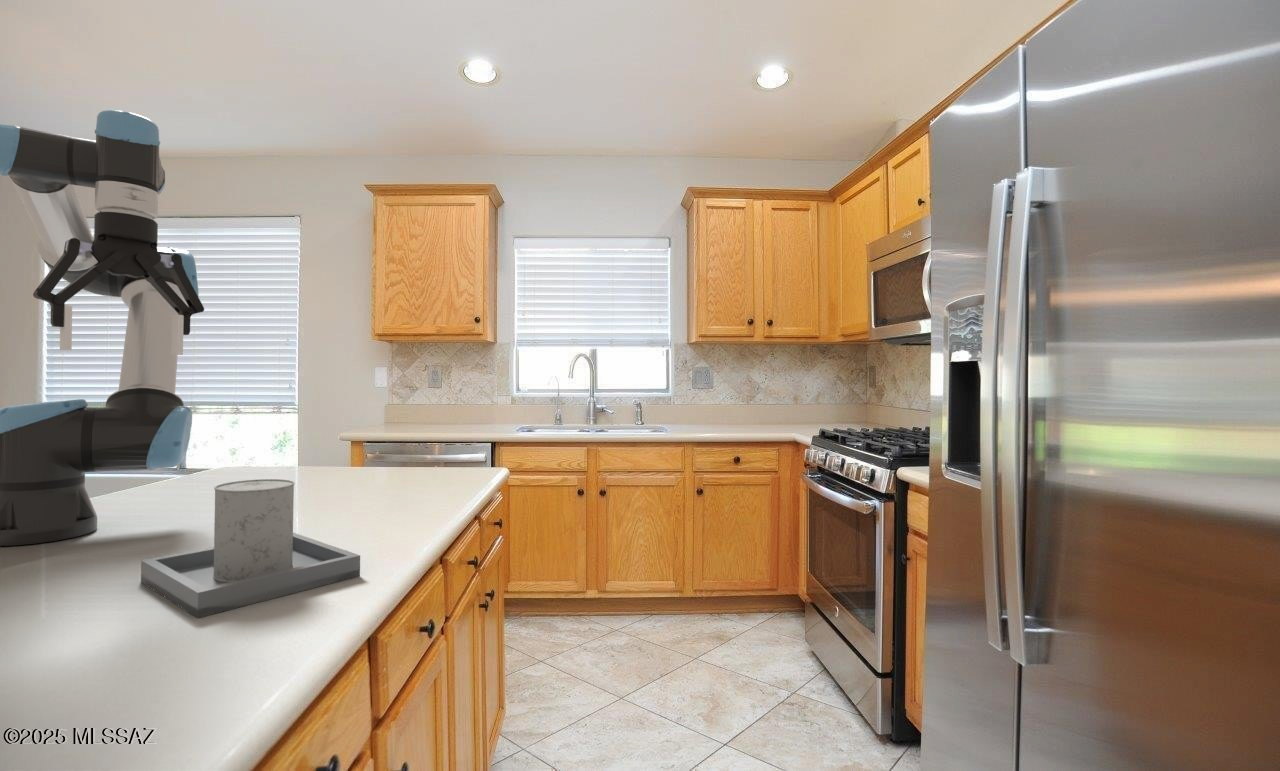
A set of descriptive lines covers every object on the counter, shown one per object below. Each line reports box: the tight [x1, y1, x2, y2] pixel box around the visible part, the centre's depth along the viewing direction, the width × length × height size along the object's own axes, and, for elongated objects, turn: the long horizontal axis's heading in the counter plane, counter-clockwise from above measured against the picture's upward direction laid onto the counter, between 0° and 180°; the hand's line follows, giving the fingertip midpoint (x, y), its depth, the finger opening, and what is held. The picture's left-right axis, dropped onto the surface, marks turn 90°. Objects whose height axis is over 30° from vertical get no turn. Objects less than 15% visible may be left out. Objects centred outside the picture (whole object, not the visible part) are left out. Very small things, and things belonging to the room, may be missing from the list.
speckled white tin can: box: [213, 478, 295, 583], centre depth 85 cm, size 10×10×12 cm
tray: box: [140, 532, 361, 619], centre depth 85 cm, size 20×20×3 cm
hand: (124, 352), depth 94 cm, fingers open, 13 cm apart
